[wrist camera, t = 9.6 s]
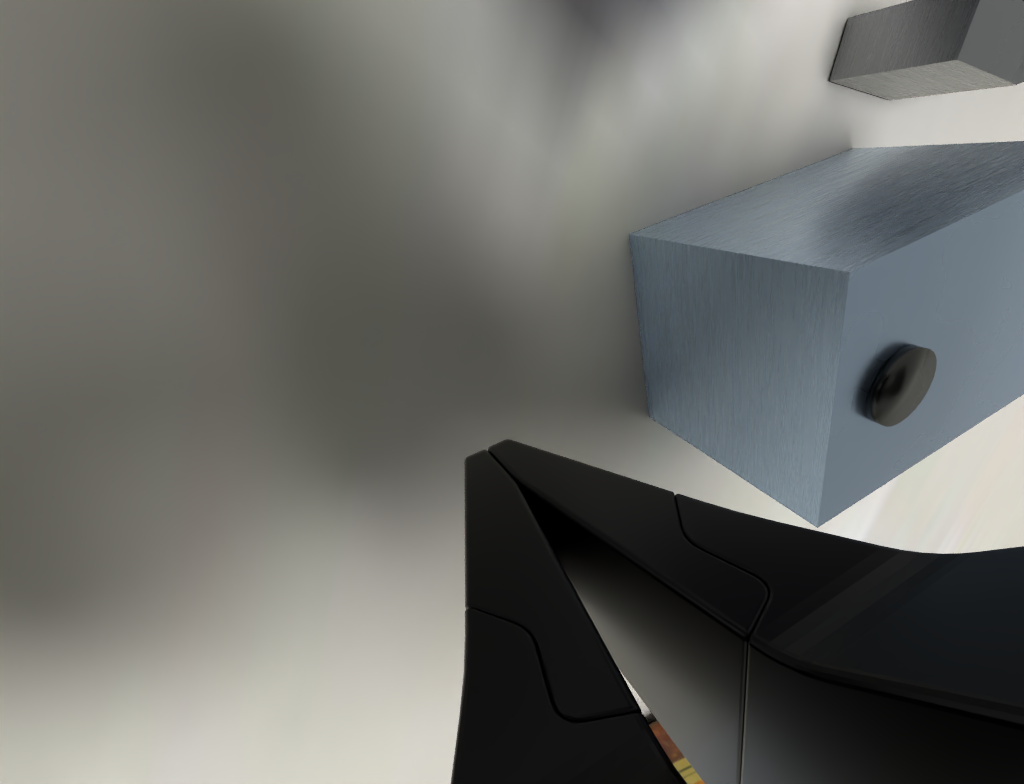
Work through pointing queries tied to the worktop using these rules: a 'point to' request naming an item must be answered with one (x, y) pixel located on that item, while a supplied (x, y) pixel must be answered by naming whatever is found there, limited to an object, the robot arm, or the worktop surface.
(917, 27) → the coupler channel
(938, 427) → the block
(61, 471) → the worktop surface
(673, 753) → the sauce bottle
